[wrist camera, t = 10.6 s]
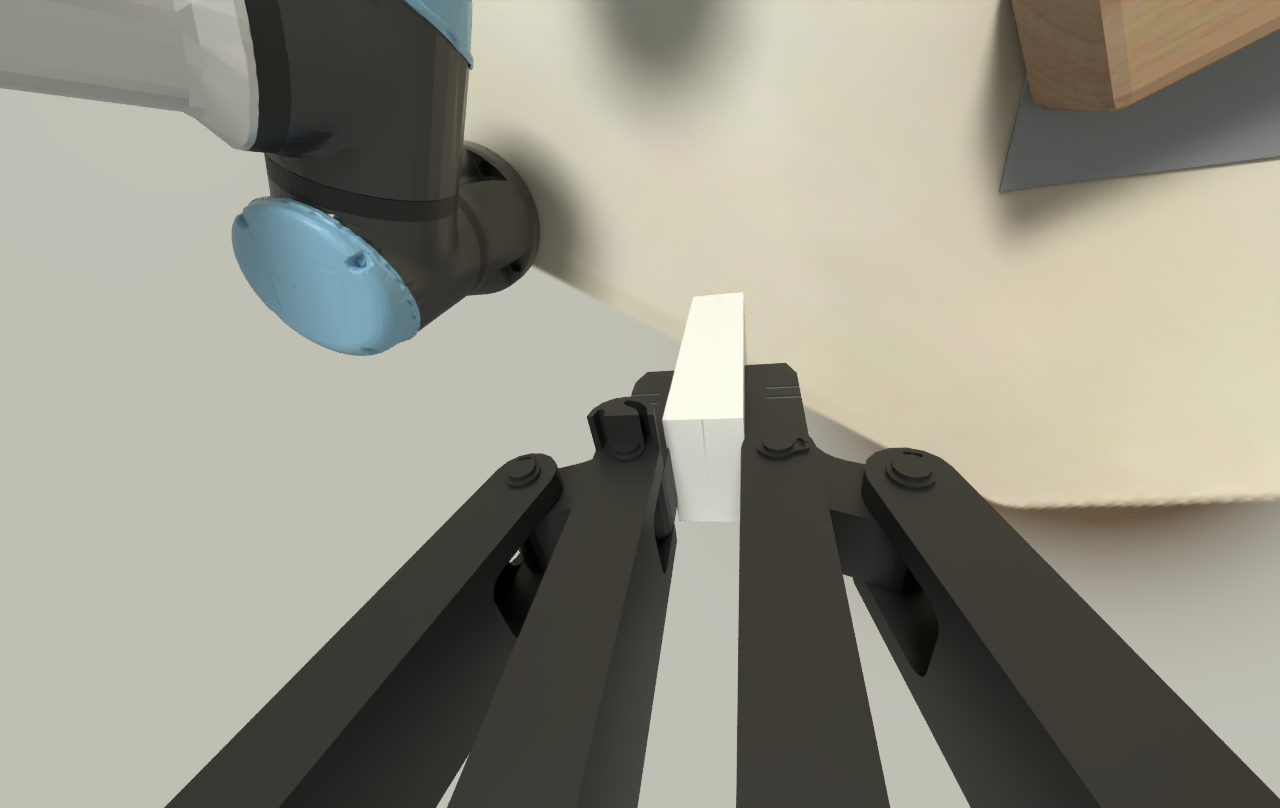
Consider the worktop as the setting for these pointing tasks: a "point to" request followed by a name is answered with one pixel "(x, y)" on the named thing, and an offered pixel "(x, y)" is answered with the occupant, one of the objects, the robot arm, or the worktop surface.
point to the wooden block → (1129, 45)
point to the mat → (1156, 126)
